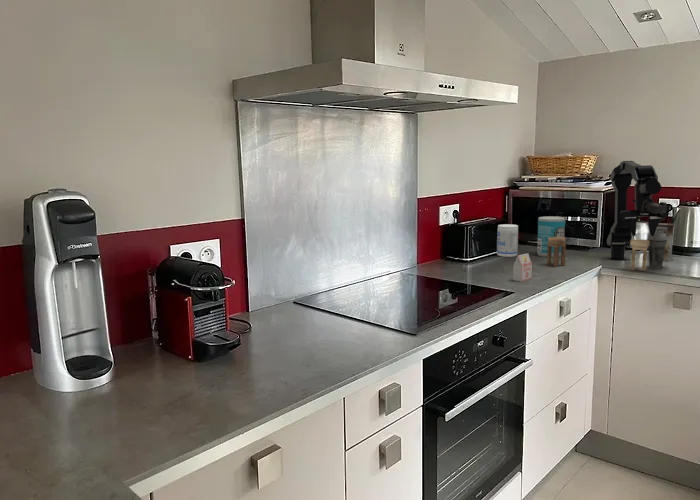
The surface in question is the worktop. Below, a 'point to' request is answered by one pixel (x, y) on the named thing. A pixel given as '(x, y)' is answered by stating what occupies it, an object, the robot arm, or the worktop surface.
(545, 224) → the food can
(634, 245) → the light brown bar stool
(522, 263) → the milk carton
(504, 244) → the supplement tub
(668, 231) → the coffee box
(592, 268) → the worktop surface
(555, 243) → the wooden stool
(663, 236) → the beverage cup
